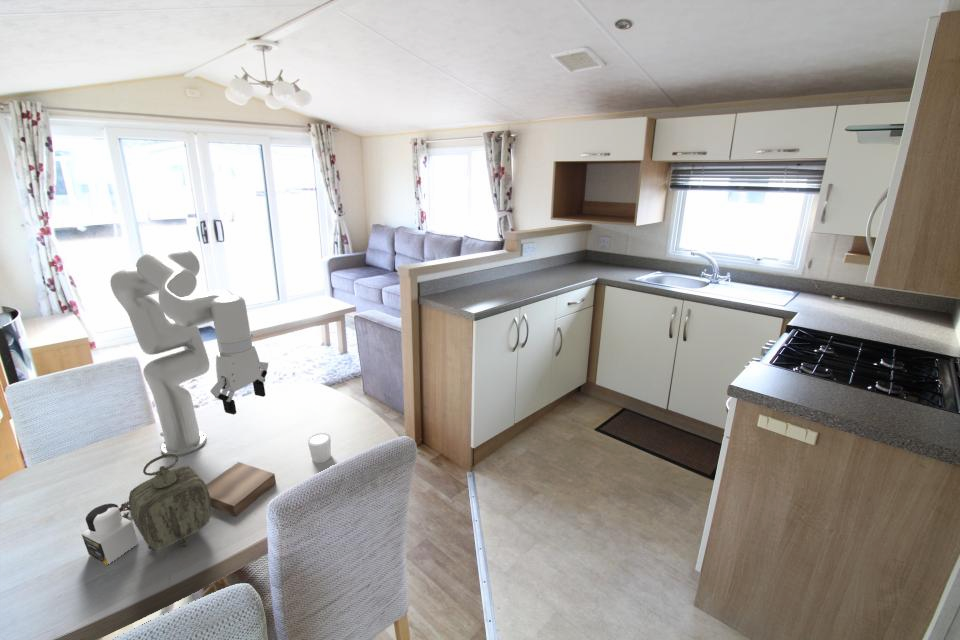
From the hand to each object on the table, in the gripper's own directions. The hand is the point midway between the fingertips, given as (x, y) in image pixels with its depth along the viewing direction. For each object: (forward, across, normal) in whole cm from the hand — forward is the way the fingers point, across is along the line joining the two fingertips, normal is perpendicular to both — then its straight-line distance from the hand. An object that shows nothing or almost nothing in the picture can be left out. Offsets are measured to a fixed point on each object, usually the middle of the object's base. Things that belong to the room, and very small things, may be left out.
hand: (246, 403), depth 118 cm
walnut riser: (+29, +3, -6) cm, 30 cm away
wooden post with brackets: (+29, +22, -27) cm, 45 cm away
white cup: (+29, -19, +6) cm, 35 cm away
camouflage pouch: (+29, +21, -5) cm, 36 cm away
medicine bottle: (+29, +28, -18) cm, 44 cm away
